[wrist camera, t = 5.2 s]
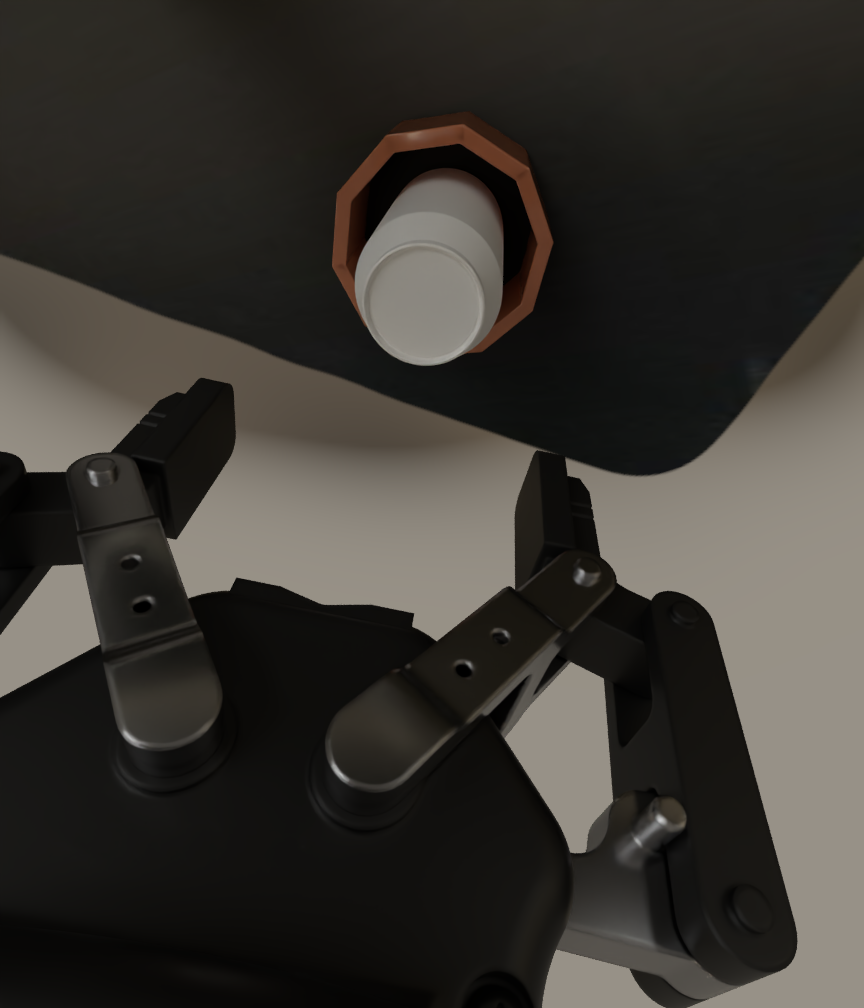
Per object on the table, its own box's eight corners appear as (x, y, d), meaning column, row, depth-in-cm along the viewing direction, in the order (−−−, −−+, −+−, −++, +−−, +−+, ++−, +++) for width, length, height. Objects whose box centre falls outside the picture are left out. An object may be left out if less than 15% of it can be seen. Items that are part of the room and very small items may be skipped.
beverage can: (521, 186, 30) (526, 255, 21) (482, 298, 34) (472, 398, 25) (407, 146, 30) (362, 199, 20) (381, 265, 34) (333, 355, 24)
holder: (346, 303, 35) (326, 336, 31) (365, 86, 28) (342, 96, 24) (512, 339, 36) (512, 377, 32) (571, 134, 29) (581, 151, 25)
